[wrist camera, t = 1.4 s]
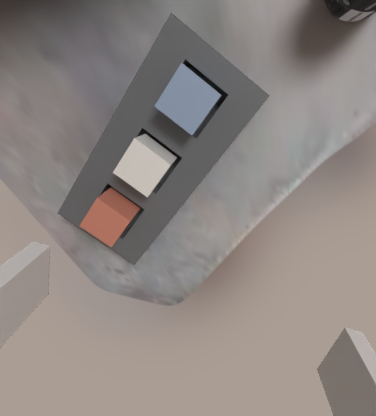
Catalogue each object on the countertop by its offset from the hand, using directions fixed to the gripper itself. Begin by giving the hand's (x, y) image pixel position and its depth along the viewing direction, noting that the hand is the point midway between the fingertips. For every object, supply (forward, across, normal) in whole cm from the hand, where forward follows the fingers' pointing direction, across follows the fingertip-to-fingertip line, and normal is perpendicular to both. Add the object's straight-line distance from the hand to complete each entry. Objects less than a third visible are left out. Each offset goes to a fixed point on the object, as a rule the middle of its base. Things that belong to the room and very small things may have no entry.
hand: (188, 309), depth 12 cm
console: (+24, -7, 0) cm, 25 cm away
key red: (+20, -10, -7) cm, 24 cm away
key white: (+21, -7, 0) cm, 22 cm away
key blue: (+21, -4, +8) cm, 22 cm away
